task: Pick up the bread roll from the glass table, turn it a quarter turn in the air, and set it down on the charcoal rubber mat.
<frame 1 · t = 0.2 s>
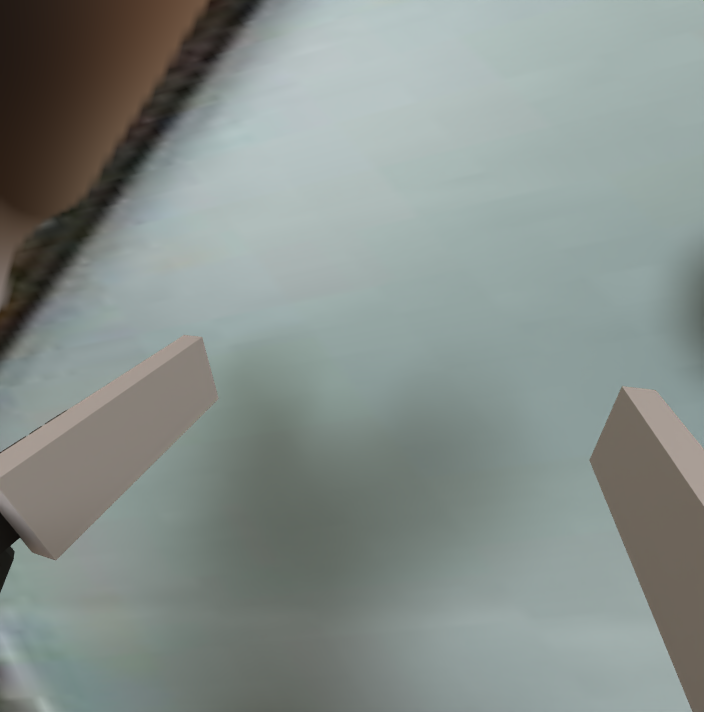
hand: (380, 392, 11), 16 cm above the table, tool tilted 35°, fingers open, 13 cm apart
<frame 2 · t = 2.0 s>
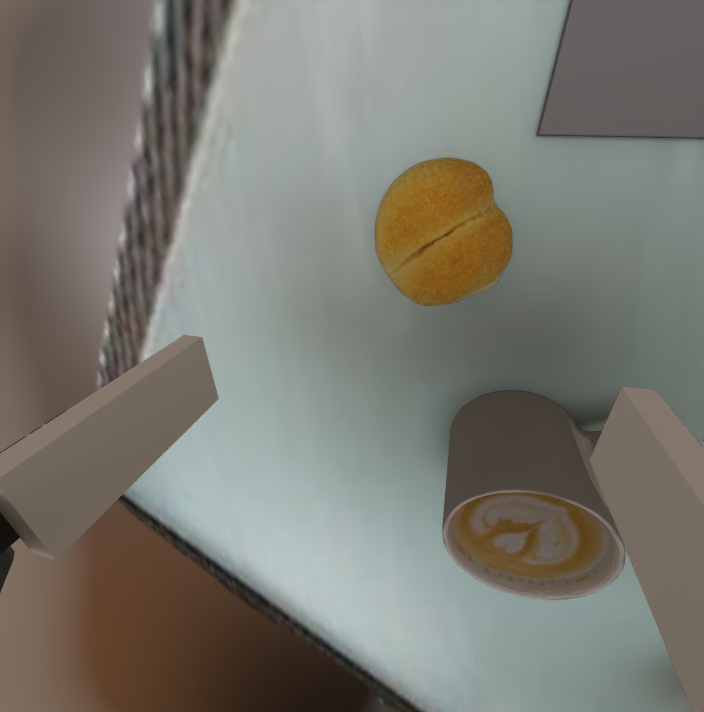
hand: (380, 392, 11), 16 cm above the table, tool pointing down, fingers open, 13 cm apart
coffee mug: (533, 435, 29), on the table
bread roll: (442, 235, 24), on the table
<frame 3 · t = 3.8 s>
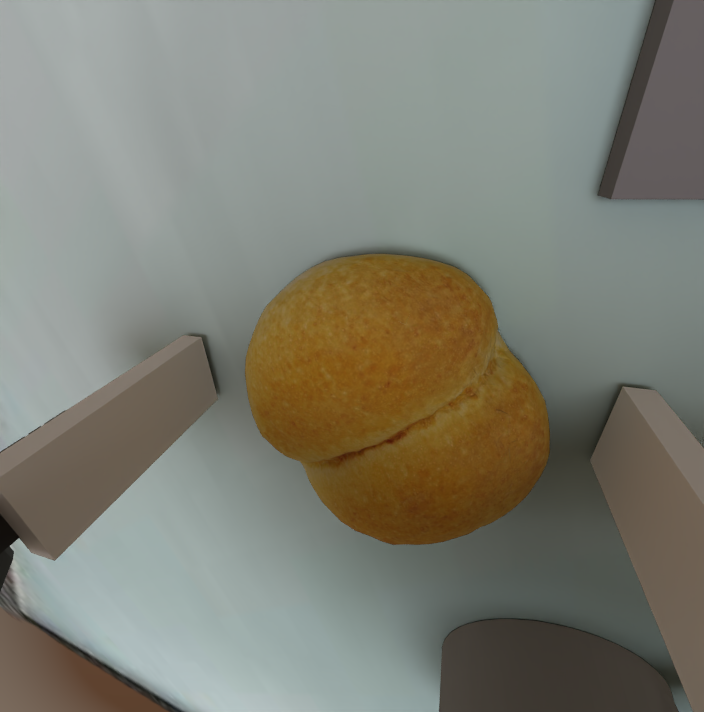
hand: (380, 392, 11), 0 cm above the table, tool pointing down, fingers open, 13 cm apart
coffee mug: (583, 676, 17), on the table
bread roll: (397, 383, 12), on the table
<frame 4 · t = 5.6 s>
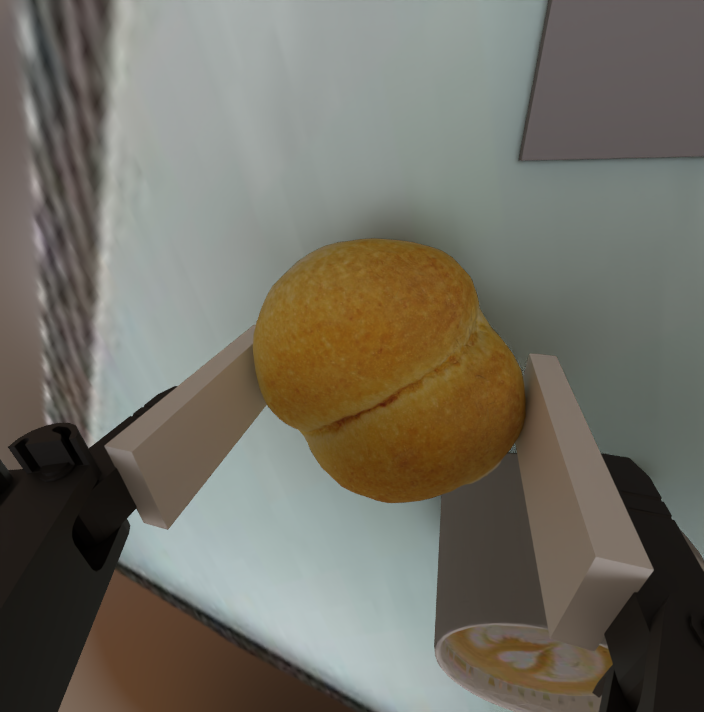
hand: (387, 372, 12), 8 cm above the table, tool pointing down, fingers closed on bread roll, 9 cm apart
coffee mug: (537, 498, 24), on the table
bread roll: (390, 360, 13), point 7 cm above the table, touching gripper
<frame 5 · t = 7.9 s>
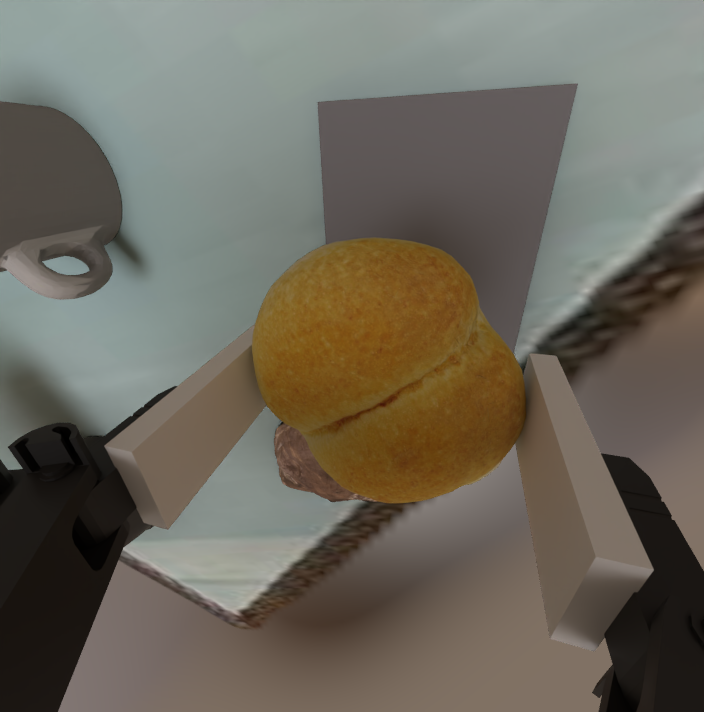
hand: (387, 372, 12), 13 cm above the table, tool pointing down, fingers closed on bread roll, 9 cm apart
mat: (423, 271, 23), on the table
coffee mug: (85, 204, 28), on the table
shell: (335, 450, 35), on the table
bread roll: (390, 360, 13), point 12 cm above the table, touching gripper
when the fingers open (2 cm above the table, at t = 10.7 s): bread roll stays where it is, resting on mat.
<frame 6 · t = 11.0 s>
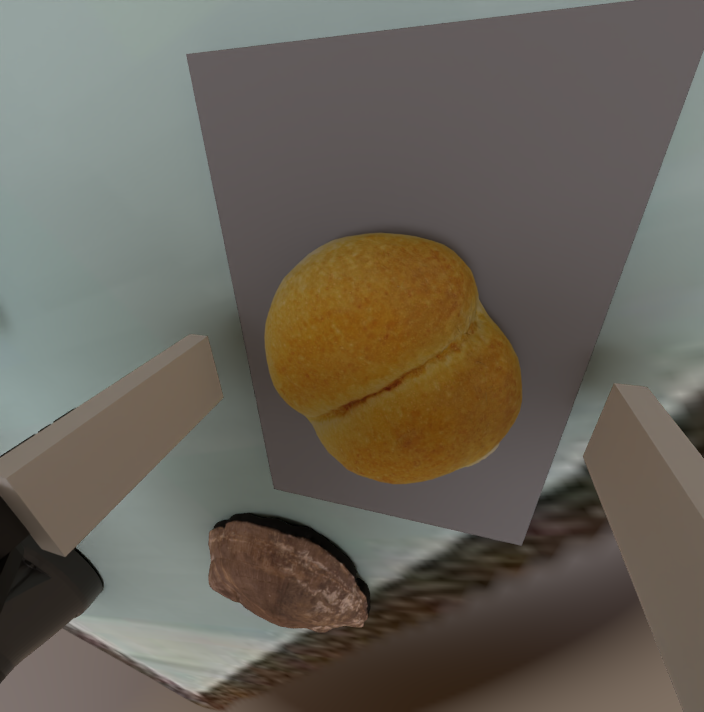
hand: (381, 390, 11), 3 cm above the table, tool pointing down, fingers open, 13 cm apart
mat: (396, 347, 14), on the table
shell: (291, 558, 26), on the table
bread roll: (394, 350, 13), point 1 cm above the table, touching mat
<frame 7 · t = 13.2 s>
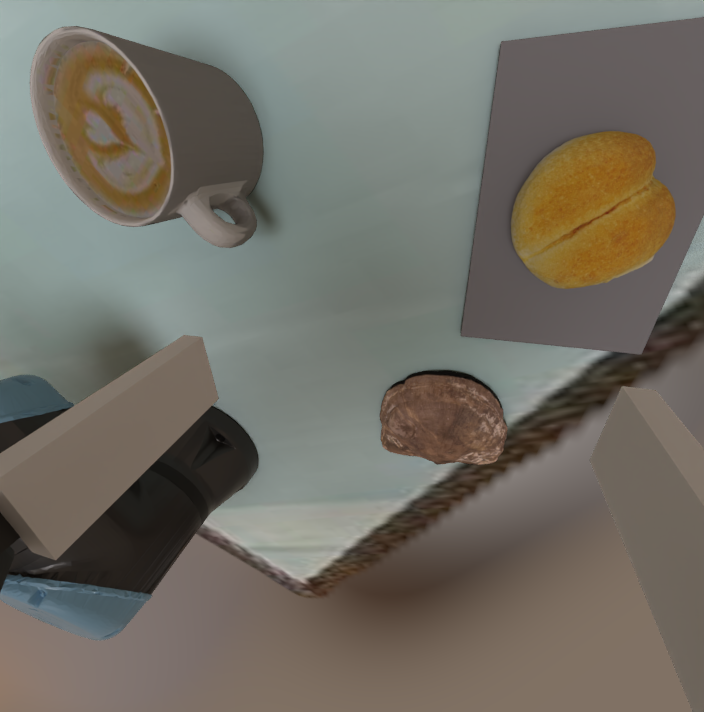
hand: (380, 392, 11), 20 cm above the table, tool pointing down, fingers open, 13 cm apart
mat: (577, 216, 24), on the table
coffee mug: (223, 162, 29), on the table
shell: (442, 414, 36), on the table
bread roll: (581, 215, 23), point 1 cm above the table, touching mat
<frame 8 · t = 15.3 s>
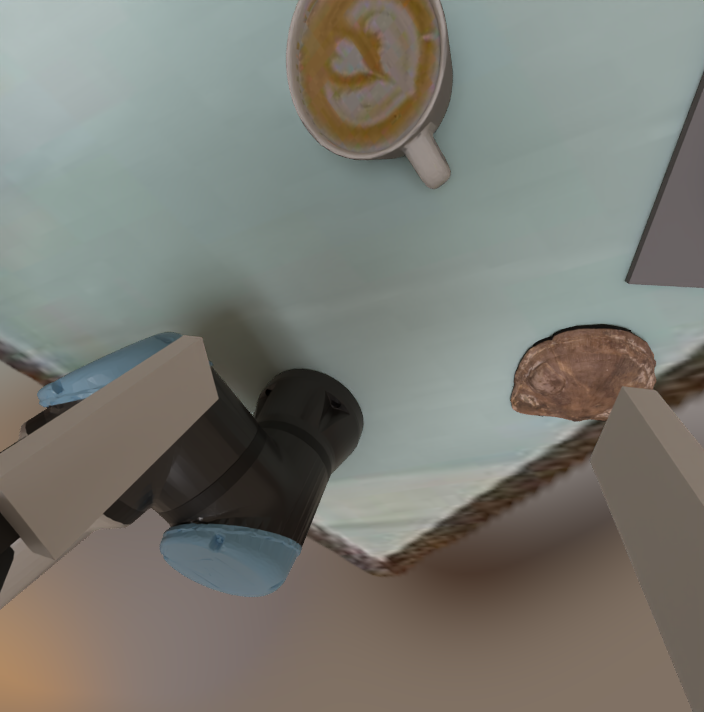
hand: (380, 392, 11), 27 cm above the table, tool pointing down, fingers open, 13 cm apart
coffee mug: (399, 112, 30), on the table
shell: (580, 371, 37), on the table
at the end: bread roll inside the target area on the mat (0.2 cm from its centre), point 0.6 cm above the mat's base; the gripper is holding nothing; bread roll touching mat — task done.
